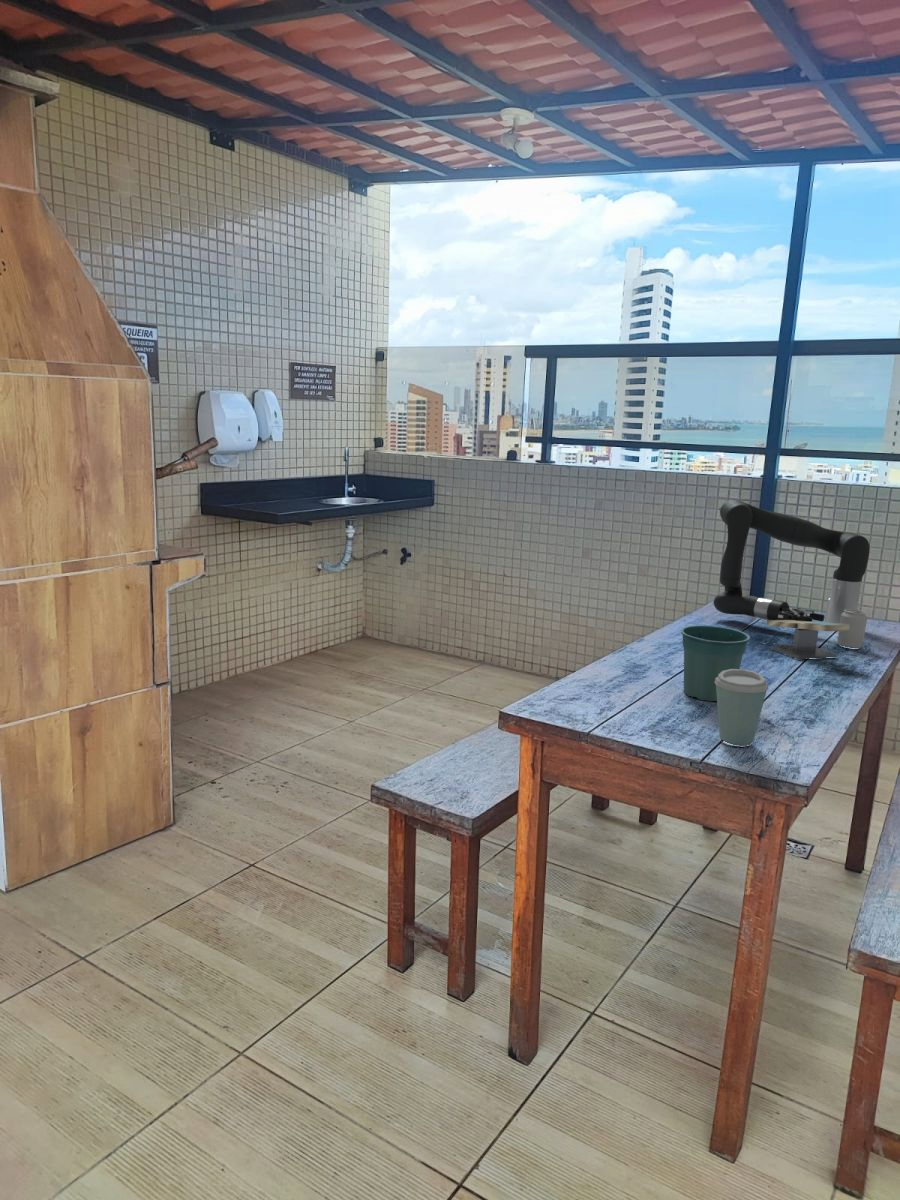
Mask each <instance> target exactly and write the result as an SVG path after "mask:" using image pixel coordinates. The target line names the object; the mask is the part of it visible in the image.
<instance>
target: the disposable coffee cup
mask: <svg viewBox="0 0 900 1200" xmlns="http://www.w3.org/2000/svg"><path fill="white" fill-rule="evenodd" d="M715 684H716V692H717V702H716V703H717V704H716V705H717V720H718V735H719V738H720V741H721V740H723V741H725V742H727V743H730V744H733V745H739V746H747V745H750V744H751V743H752V744H753V742H754V740H755V737H756V732H757V728H758V727H759V726H758V725H759V721H760V718H761V717H760V716H761V713H762V709H763V706H764V702H765V698H766V695H767V690H769V688H768V687H769V684H768V683H767V680H766V678H765V677H764V675H763V674H761V673H758V672H756V671H754V670H748V669H741V668H740V669H729V670H724V671H722V672H721V673H719V674H718V677H716V678H715ZM752 744H751V745H752ZM751 745H750V746H751Z"/></svg>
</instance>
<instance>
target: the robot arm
mask: <svg viewBox="0 0 900 1200" xmlns="http://www.w3.org/2000/svg"><path fill="white" fill-rule="evenodd" d="M719 515H720V518H721V520H722V522H723V523H724V524H725V525H726V526H727V527H726V528H727V542H726V547H725V551H724V553H723V556H722V558H721V565H720V573H719V583H720V585H722V586H724V591H723V592H721V593H719V594H717V595H716V596H715V597H714V599H713V606H714V608H715V609H716V611H718V612H719V613H722V614H725V615H739V616H740V615H742V616H743V615H744V616H749V617H754V618H758V619H760V620H763V621H766V622H767V621H768V620H795V621H807V622H813V621H817V622H827V623H839V624H840V620H841V614H842V613H843V612H844V610H845V609H854V610H858V609H859V603H860V597H861V589H862V583H863V582H862V581H863V577H864V575H865V574H866V571H867V568H868V567H867V566H868V562H869V558H870V549H871V548H870V543H869V540H868V539H867V537H865V536H863V535H860V534H856V533H852V532H845V531H839V530H833V529H829V528H828V529H827V528H825V527H823V526H821V525H819V524H817V523H814V522H812V521H810V520H807V519H804V518H801V517H798V516H793V515H789V514H785V513H781V512H777V511H772V510H771V511H770V510H766V509H762V508H759V507H757V506H754V505H751V504H750V503H746V502H745V501H742V500H739V499H730V500H728V501H725V502H724V503H723V504H722V505H721V507H720V509H719ZM750 529H753V530H756V531H759V532H761V533H763V534H765V535H766V536H768V537H771V538H773V539H775V540H778V541H779V542H780V541H781V542H783V543H787V544H791V545H794V546H798V547H803V548H804V547H805V548H815V549H818V550H822V551H825V552H828V553H830V554H832V555H835V556H837V557H839V558H840V562H839V566H838V568H837V569H835V570H834V571H833V575H832V581H831V588H830V590H831V591H830V596H829V598H828V599H827V601H826V608H825V614H822V613H816V612H815V610H811V609H810V610H809V609H805V608H800V607H792V608H790V605H789V603H788V602H787V601H784V600H780V599H779V600H778V599H773V598H769V597H768V598H767V597H760V596H755V595H745V596H744V595H743V588H742V583H741V580H742V579H741V578H742V572H743V571H742V569H743V560H744V553H745V547H746V544H747V539H748V535H749V532H750ZM808 614H809V615H808Z"/></svg>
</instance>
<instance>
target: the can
mask: <svg viewBox="0 0 900 1200" xmlns="http://www.w3.org/2000/svg"><path fill="white" fill-rule="evenodd" d="M866 614H867V613H866V612H865V611H863V610H860V609H859V610H854V609H845V610H844V612H843V613H842V614H841V620H840V624H847V625H849V630H848V631H838V635H837V642H836V643H837V645H838V644H839V645H841V646H845V647H850V648H860V649H861V647H862V648H863V646H864V643H865V642H864V641H865V634H866V627H867V623H868V622H867V621H868V617H867V615H866ZM839 645H838V646H839Z"/></svg>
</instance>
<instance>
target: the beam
mask: <svg viewBox="0 0 900 1200" xmlns="http://www.w3.org/2000/svg"><path fill="white" fill-rule="evenodd" d="M766 626H767V627H779V628H790V629H808V630H819V631H821V632H822V631H823V632H839V631H848V630H849V625H847V624H839V623H827V622H825V621H817V622H816V621H812V622H807V621H795V620H768V621H767V620H766ZM819 631H818V632H819Z"/></svg>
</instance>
